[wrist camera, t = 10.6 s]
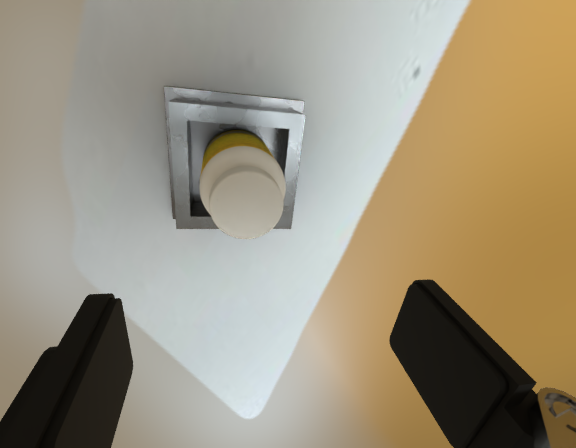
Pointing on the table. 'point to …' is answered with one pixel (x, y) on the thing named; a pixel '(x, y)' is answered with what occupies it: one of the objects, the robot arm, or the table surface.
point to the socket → (214, 119)
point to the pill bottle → (241, 184)
